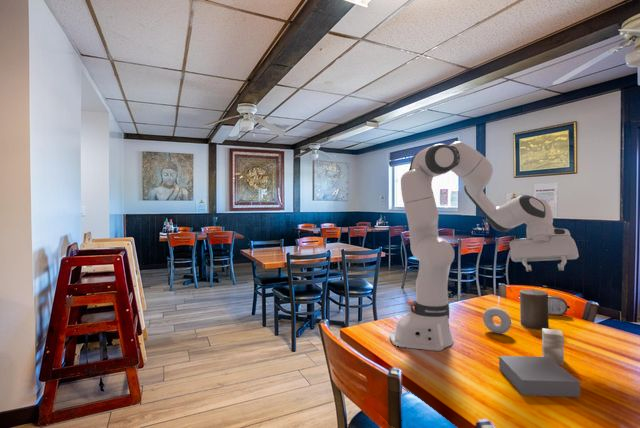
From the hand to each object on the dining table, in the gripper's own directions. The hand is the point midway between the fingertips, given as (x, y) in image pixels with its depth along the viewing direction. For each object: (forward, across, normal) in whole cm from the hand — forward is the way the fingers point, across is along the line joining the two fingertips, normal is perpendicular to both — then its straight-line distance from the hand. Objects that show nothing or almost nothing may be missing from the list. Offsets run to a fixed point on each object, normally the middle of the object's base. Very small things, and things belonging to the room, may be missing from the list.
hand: (544, 270), depth 115 cm
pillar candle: (+7, -8, +32) cm, 34 cm away
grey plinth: (+39, -4, -6) cm, 40 cm away
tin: (-5, -4, +48) cm, 48 cm away
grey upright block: (+28, -1, +8) cm, 29 cm away
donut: (+17, -19, +18) cm, 31 cm away
